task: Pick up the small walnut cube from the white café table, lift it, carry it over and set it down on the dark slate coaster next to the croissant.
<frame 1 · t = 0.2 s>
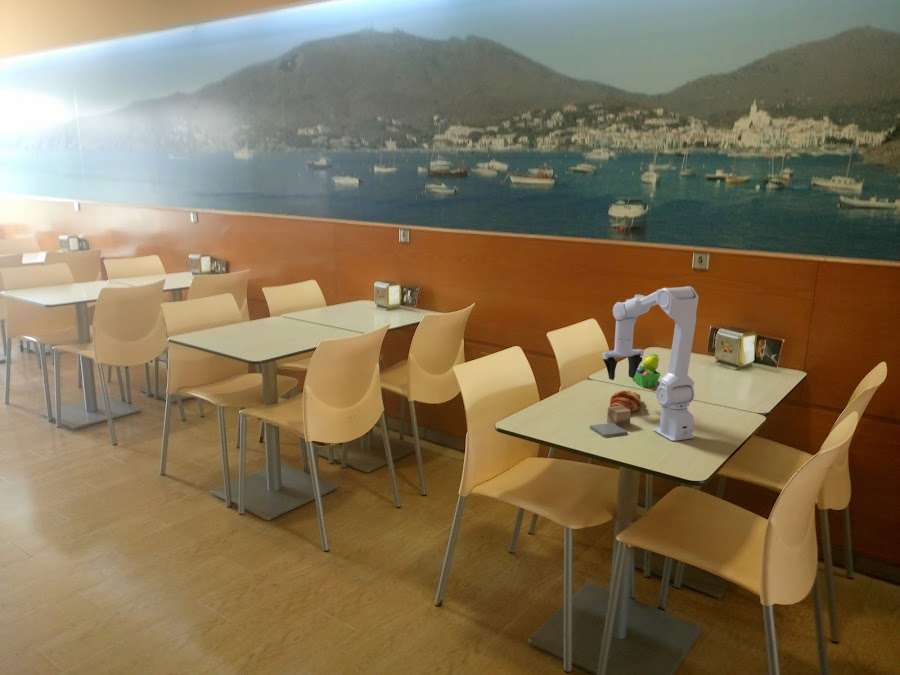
hand: (621, 378, 226), 10 cm above the table, fingers open, 7 cm apart
slate coaster: (608, 431, 207), on the table
fruit basket: (645, 384, 255), on the table
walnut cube: (618, 424, 213), on the table
croissant: (626, 410, 227), on the table
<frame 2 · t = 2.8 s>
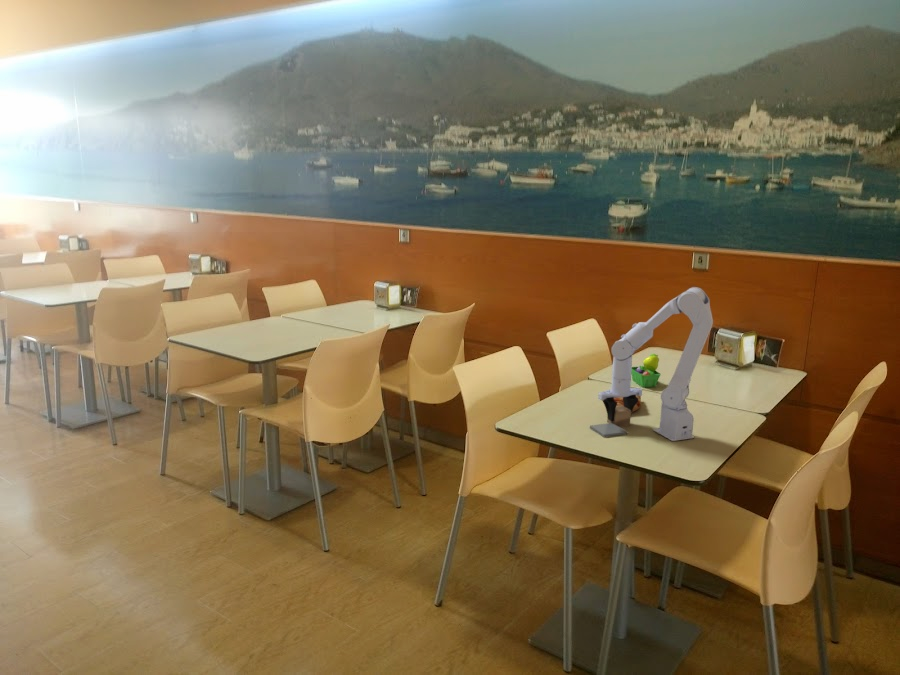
hand: (618, 419, 213), 1 cm above the table, fingers closed on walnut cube, 5 cm apart
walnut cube: (618, 423, 213), on the table, touching gripper
everything else where it was.
when the fingers open (3 cm above the table, at t = 6.2 s): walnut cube stays where it is, resting on slate coaster.
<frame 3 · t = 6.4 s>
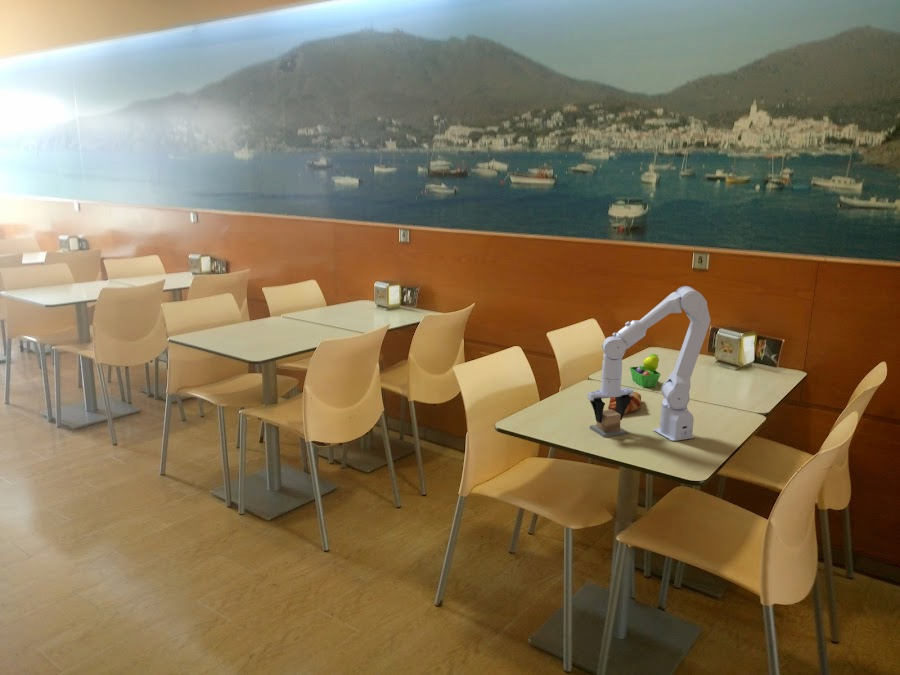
hand: (608, 420, 206), 3 cm above the table, fingers open, 6 cm apart
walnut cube: (608, 428, 207), point 1 cm above the table, touching slate coaster
everything else where it was.
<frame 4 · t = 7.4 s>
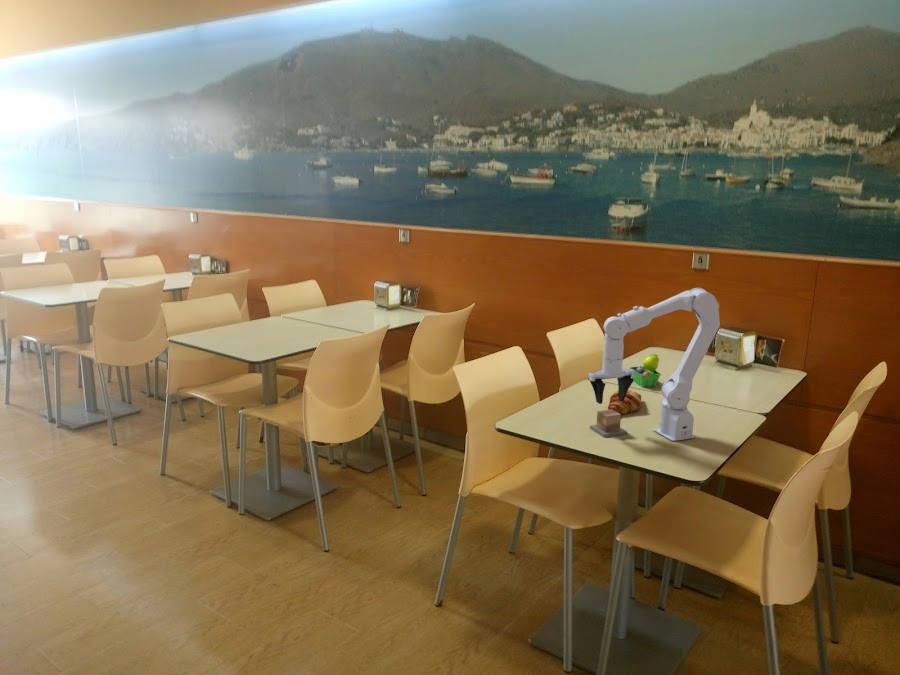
hand: (610, 401, 204), 9 cm above the table, fingers open, 7 cm apart
nothing on the table moved.
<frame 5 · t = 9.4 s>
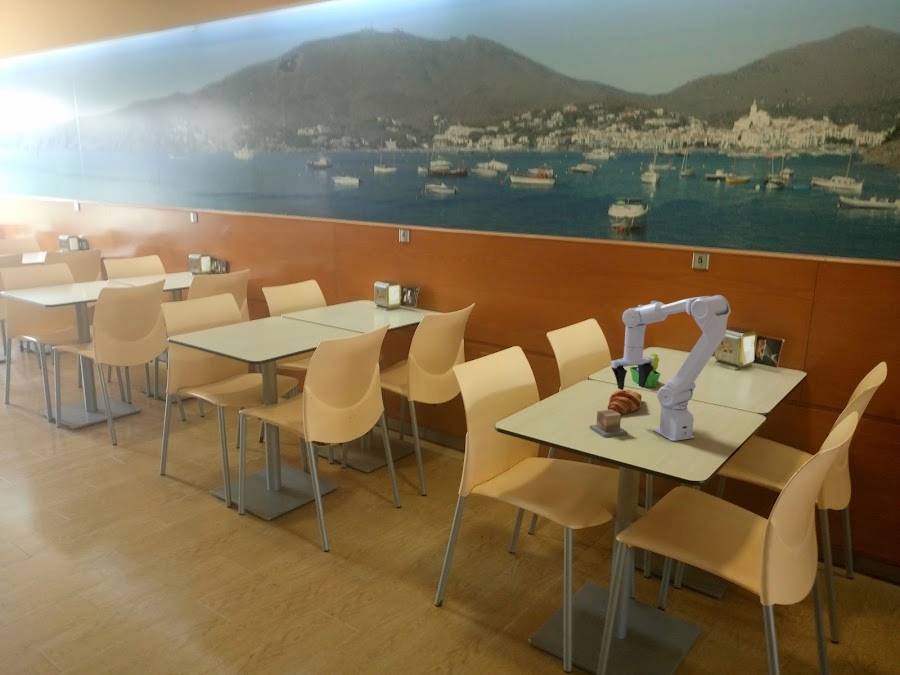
hand: (631, 387, 215), 10 cm above the table, fingers open, 7 cm apart
nothing on the table moved.
at the end: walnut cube inside the target area on the slate coaster (0.2 cm from its centre), point 0.8 cm above the slate coaster's base; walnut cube tilted 0°; the gripper is holding nothing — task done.
